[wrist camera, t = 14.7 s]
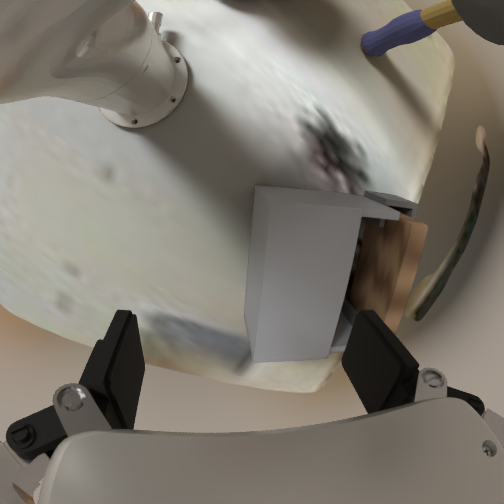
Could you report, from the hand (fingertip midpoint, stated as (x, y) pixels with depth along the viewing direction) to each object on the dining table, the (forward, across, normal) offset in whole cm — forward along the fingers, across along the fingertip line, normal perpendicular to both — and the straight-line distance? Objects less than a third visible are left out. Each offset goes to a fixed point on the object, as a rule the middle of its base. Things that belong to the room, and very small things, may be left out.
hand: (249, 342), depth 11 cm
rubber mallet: (+28, -19, -26) cm, 43 cm away
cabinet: (+28, -15, +8) cm, 33 cm away
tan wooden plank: (+28, -23, +8) cm, 37 cm away
